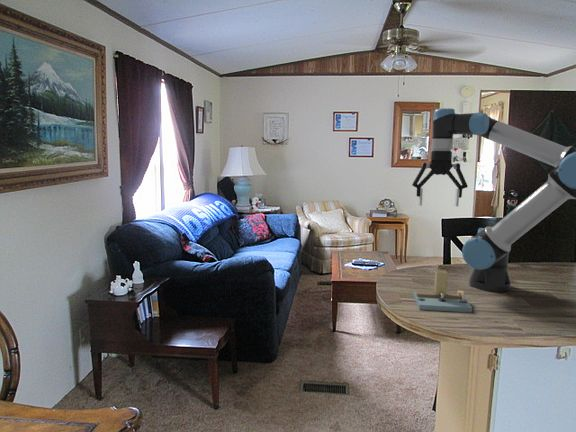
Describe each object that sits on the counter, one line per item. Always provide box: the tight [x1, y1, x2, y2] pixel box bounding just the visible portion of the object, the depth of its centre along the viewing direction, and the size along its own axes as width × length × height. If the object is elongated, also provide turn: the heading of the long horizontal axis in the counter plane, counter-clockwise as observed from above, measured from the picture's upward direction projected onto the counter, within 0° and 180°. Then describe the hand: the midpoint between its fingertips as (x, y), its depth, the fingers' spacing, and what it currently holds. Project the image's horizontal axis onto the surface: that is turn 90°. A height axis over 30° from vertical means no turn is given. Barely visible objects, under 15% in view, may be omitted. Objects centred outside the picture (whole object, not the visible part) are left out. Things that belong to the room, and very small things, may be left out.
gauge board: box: [412, 290, 473, 313], centre depth 159 cm, size 17×14×4 cm
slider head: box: [433, 269, 449, 300], centre depth 160 cm, size 4×6×9 cm, turn 173°
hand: (438, 205), depth 177 cm, fingers open, 13 cm apart
